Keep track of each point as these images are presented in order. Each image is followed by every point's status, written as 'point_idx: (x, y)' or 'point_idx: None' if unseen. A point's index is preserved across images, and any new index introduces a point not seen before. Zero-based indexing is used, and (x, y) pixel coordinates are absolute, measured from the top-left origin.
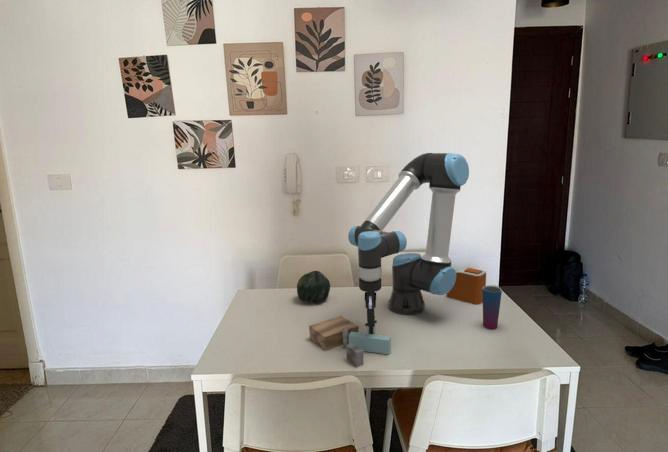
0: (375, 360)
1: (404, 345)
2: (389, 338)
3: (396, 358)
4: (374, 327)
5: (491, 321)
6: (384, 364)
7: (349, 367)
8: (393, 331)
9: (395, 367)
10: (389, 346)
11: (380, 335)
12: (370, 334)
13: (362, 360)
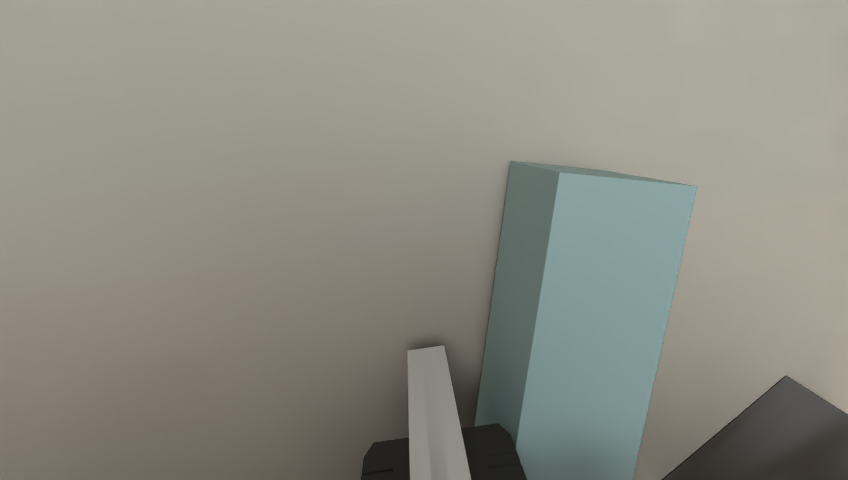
0: (707, 285)
1: (356, 17)
2: (622, 185)
3: (655, 84)
4: (468, 477)
5: None
6: (777, 193)
7: None
8: (40, 179)
9: (831, 78)
10: (609, 173)
11: (538, 328)
12: (526, 462)
13: (829, 406)
